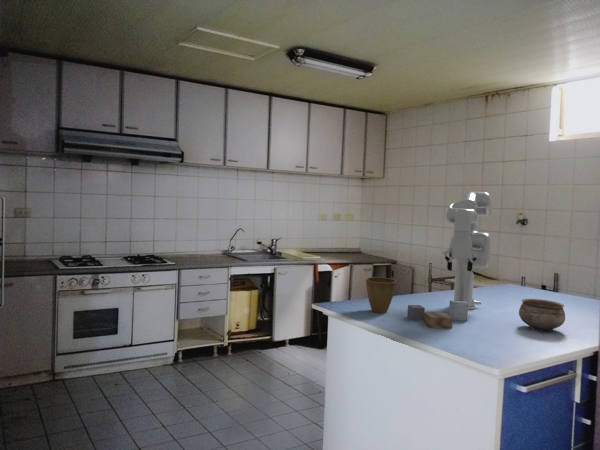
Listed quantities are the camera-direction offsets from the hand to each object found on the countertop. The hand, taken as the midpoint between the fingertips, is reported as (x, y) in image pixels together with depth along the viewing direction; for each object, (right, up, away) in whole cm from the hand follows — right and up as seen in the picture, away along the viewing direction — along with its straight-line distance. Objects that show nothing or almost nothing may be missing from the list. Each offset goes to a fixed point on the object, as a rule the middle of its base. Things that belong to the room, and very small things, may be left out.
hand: (459, 270), depth 229 cm
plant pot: (-37, -22, +10) cm, 44 cm away
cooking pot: (+34, -26, -10) cm, 44 cm away
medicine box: (0, -24, +1) cm, 24 cm away
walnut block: (-14, -24, -12) cm, 30 cm away
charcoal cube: (-21, -23, -1) cm, 31 cm away
